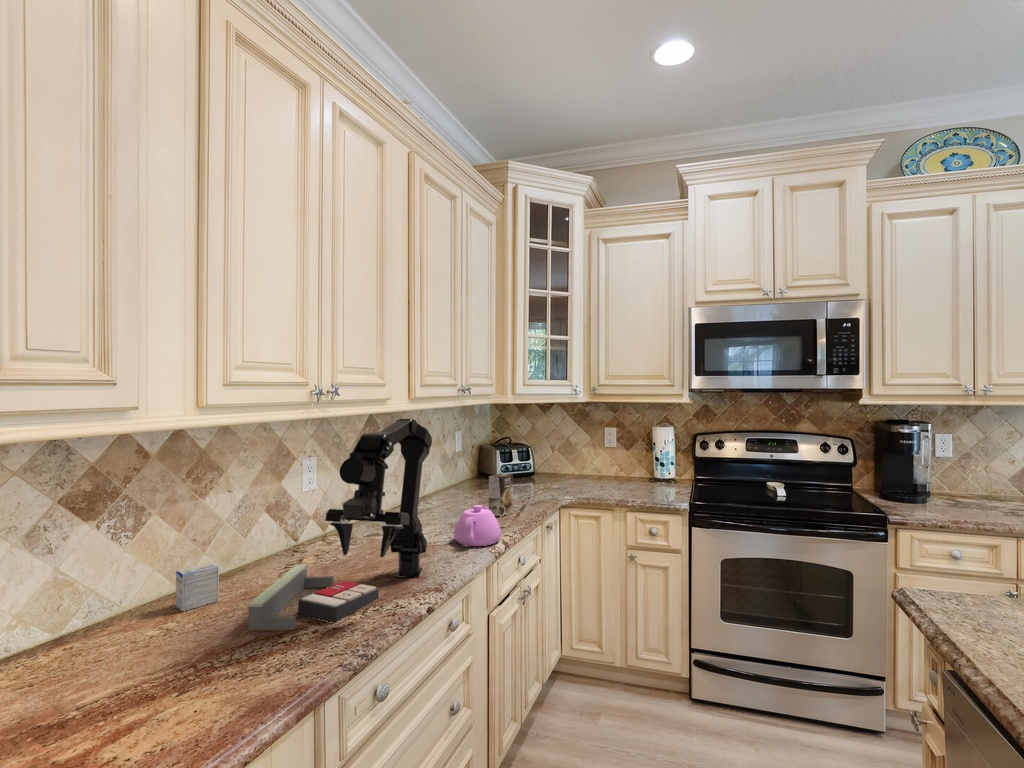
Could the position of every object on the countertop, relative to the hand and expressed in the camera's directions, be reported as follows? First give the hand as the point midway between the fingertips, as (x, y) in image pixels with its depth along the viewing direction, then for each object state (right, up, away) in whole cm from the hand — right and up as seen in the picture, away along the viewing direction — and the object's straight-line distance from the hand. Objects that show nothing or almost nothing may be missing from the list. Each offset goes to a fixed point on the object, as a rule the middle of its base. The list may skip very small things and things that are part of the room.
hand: (363, 556), depth 125 cm
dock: (-17, -13, +3) cm, 21 cm away
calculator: (-6, -13, +2) cm, 15 cm away
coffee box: (+29, -14, +96) cm, 102 cm away
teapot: (+22, -13, +57) cm, 63 cm away
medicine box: (-40, -13, +4) cm, 43 cm away
